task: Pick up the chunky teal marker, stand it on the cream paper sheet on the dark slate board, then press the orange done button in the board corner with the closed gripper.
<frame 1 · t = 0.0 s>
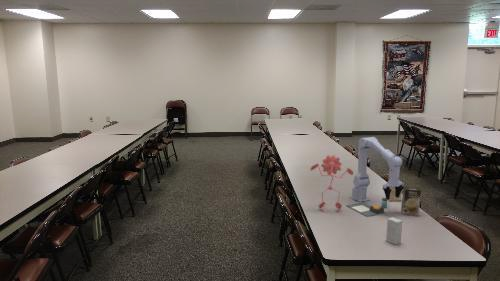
hand: (392, 198, 224), 10 cm above the table, tool pointing down, fingers open, 7 cm apart
figurine: (329, 208, 234), on the table
skincare box: (393, 241, 189), on the table
slate board: (364, 209, 232), on the table
teal marker: (384, 207, 236), on the table
done button: (376, 208, 227), point 3 cm above the table, slide at 0.0 cm
supplement box: (393, 200, 250), on the table
coffee box: (409, 213, 226), on the table
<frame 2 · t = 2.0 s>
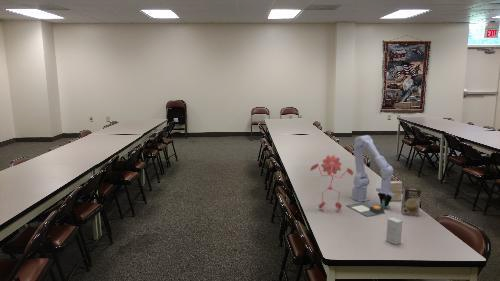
hand: (384, 204, 236), 2 cm above the table, tool pointing down, fingers closed on teal marker, 3 cm apart
teal marker: (384, 207, 236), on the table, touching gripper
everything else where it was.
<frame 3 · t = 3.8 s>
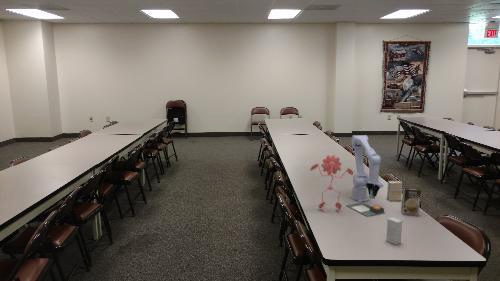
hand: (372, 195, 232), 9 cm above the table, tool pointing down, fingers closed on teal marker, 3 cm apart
teal marker: (372, 197, 233), point 7 cm above the table, touching gripper
everything else where it was.
when the fingers open (4 cm above the table, at t = 5.6 s): teal marker drops 1 cm, resting on slate board.
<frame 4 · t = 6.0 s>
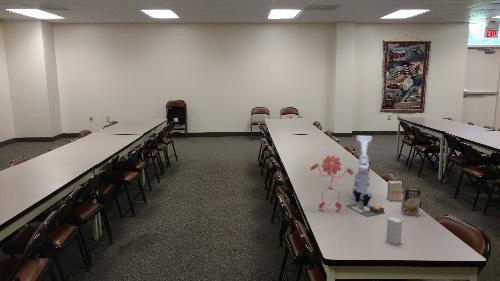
hand: (361, 204, 232), 4 cm above the table, tool pointing down, fingers open, 7 cm apart
teal marker: (361, 208, 232), point 1 cm above the table, touching slate board
everything else where it was.
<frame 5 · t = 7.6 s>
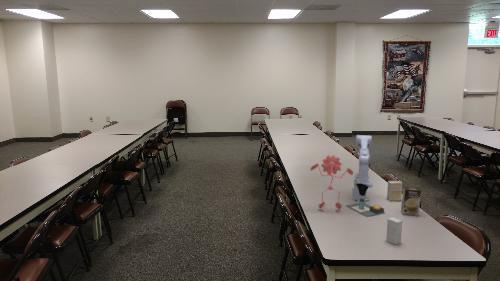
hand: (362, 195, 231), 9 cm above the table, tool pointing down, fingers closed
nothing on the table moved.
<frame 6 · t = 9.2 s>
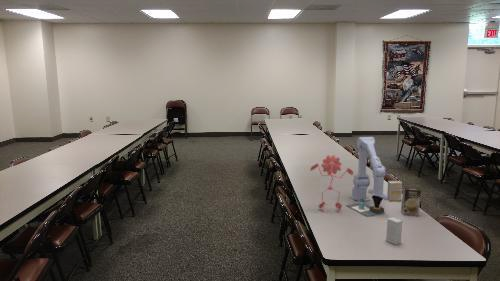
hand: (376, 207, 227), 3 cm above the table, tool pointing down, fingers closed, pressing on done button
done button: (376, 208, 227), point 2 cm above the table, slide at 0.6 cm, touching gripper
everything else where it was.
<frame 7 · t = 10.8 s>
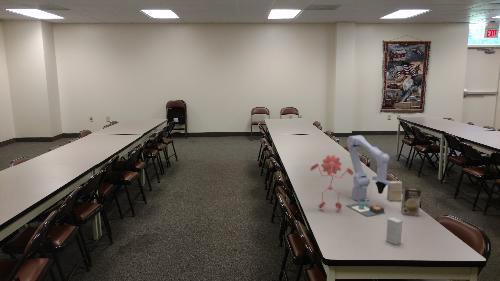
hand: (380, 193, 235), 9 cm above the table, tool pointing down, fingers closed
done button: (376, 209, 227), point 2 cm above the table, slide at 0.6 cm
everything else where it was.
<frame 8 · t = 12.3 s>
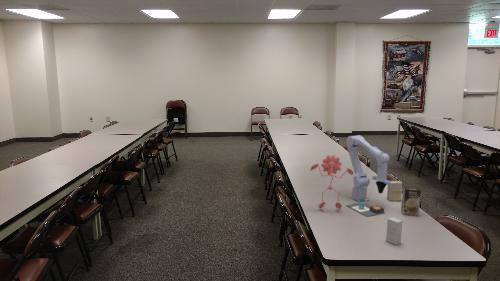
hand: (380, 192, 235), 9 cm above the table, tool pointing down, fingers closed
nothing on the table moved.
at the end: teal marker 0.0 cm from the target spot on the slate board, point 0.7 cm above the slate board's base; teal marker tilted 1°; done button slide at 0.6 cm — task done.
